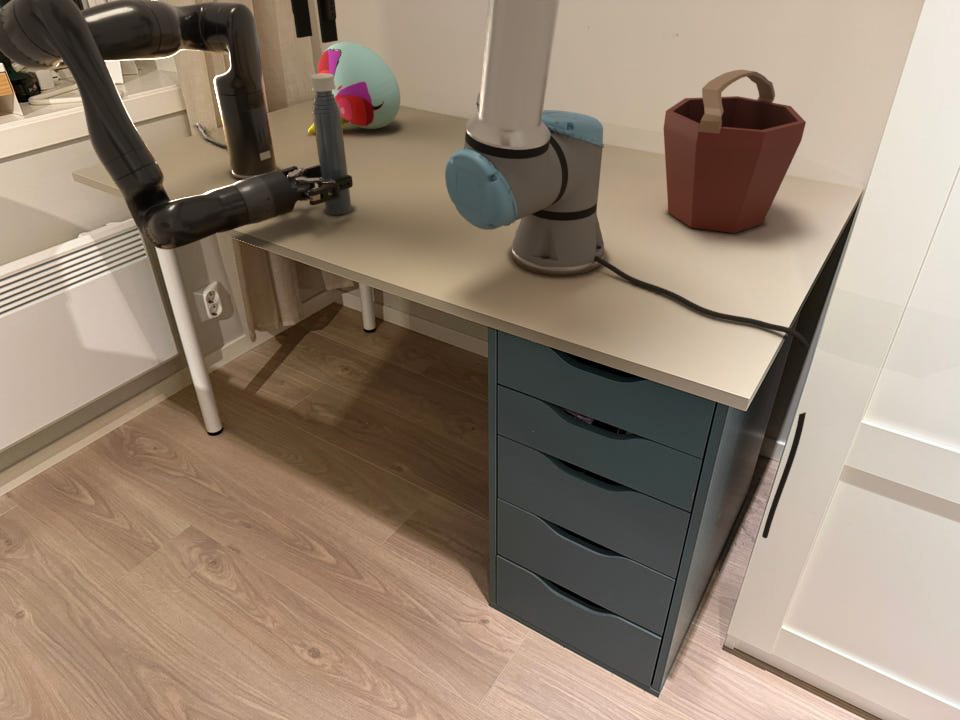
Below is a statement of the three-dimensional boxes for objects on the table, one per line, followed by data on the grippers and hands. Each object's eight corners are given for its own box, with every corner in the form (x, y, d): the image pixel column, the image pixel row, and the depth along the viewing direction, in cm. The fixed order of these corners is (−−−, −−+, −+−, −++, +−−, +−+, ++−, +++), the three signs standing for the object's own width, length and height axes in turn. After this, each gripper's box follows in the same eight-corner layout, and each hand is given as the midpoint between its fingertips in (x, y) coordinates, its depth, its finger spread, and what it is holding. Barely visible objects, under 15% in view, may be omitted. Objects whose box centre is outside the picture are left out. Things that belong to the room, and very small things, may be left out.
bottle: (324, 207, 136) (306, 76, 123) (349, 204, 138) (334, 74, 124) (327, 216, 133) (309, 82, 119) (353, 213, 134) (338, 80, 120)
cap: (310, 87, 124) (308, 74, 122) (333, 85, 125) (331, 72, 123) (313, 92, 120) (311, 79, 119) (336, 90, 121) (334, 77, 120)
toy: (277, 110, 181) (275, 51, 163) (352, 72, 191) (358, 13, 173) (336, 175, 178) (341, 122, 160) (410, 134, 188) (421, 79, 170)
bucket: (710, 250, 119) (740, 96, 105) (622, 208, 134) (638, 69, 120) (804, 218, 129) (843, 75, 115) (713, 183, 145) (736, 53, 131)
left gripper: (279, 187, 116) (358, 163, 125) (235, 167, 124) (312, 146, 134) (286, 229, 120) (362, 203, 130) (244, 208, 128) (318, 185, 138)
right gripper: (356, -130, 102) (371, 42, 115) (279, -128, 113) (301, 29, 126) (314, -130, 97) (334, 49, 110) (238, -128, 108) (265, 35, 121)
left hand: (337, 174), depth 132 cm, fingers open, 8 cm apart
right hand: (317, 38), depth 118 cm, fingers open, 6 cm apart
